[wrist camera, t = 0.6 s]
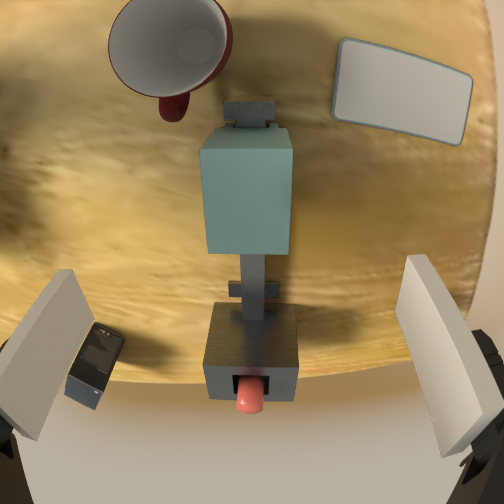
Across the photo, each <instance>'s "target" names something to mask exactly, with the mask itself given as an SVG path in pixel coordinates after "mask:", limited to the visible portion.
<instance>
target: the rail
mask: <svg viewBox="0 0 504 504" xmlns="http://www.w3.org/2000/svg"><path fill="white" fill-rule="evenodd" d="M223 104H224V121H225V120H236V127H235V128H269V127H266V120H275V115H276V101H275V98H274V96H230V97H229V98H228V99H227V100H225V101H224V102H223ZM220 128H224V127H220ZM279 128H285V127H279ZM240 265H241V281H229V282H228V288H229V297H242V316H243V320H264V298H279V286H280V284H279V282H267V281H265V254H240Z"/></svg>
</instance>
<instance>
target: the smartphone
mask: <svg viewBox="0 0 504 504" xmlns="http://www.w3.org/2000/svg"><path fill="white" fill-rule="evenodd" d="M472 85H473V80H472V78H471V76H470V75H469V74H467V73H464V72H462V71H459V70H457V69H454V68H452V67H449V66H446V65H444V64H441V63H438V62H435V61H432V60H429V59H426V58H423V57H420V56H417V55H414V54H411V53H408V52H404V51H401V50H397V49H394V48H390V47H386V46H383V45H379V44H375V43H370V42H366V41H362V40H357V39H353V38H343V39H342V40H341V41H340V42H339V45H338V54H337V63H336V72H335V81H334V89H333V97H332V104H331V115H332V117H333V118H334V119H335V120H337V121H341V122H347V123H353V124H358V125H364V126H369V127H375V128H380V129H385V130H390V131H395V132H400V133H404V134H409V135H413V136H417V137H421V138H425V139H429V140H433V141H437V142H441V143H445V144H448V145H452V146H458V145H460V144H461V142H462V138H463V134H464V129H465V124H466V119H467V114H468V109H469V104H470V98H471V92H472Z"/></svg>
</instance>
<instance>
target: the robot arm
mask: <svg viewBox="0 0 504 504" xmlns="http://www.w3.org/2000/svg"><path fill="white" fill-rule="evenodd" d="M395 313H396V316H397V318H398V321H399V324H400V326H401V329H402V332H403V334H404V337H405V340H406V343H407V345H408V348H409V351H410V354H411V357H412V359H413V362H414V365H415V368H416V371H417V374H418V377H419V380H420V384H421V387H422V390H423V393H424V396H425V399H426V403H427V406H428V410H429V413H430V416H431V420H432V423H433V427H434V430H435V434H436V438H437V442H438V446H439V450H440V454H441V458H443V457H447V456H450V455H454V454H457V453H460V452H463V451H464V450H465V449H466V447H468V446H469V445H470V444H471V446H472V450H473V452H471V453H470V454H469V455H468V456H467V457H466V458H465V459H464V460H463V461H462V462H461V464H460V465H459V466H461V467H462V466H463V465H464V464H465V463H466V465H465V467H464V470H463V472H462V474H461V476H460V478H459V480H458V482H457V484H456V486H455V488H454V490H453V492H452V494H451V496H450V498H449V500H448V501H447V503H446V504H504V364H503V360H502V358H501V356H500V355H499V354H498V350H497V348H496V347H495V345H494V343H493V341H492V339H491V338H490V337H489V336H487V335H486V334H485V333H484V332H483V331H482V330H481V329H479V330H474V331H471V330H470V328H469V327H468V325H467V323H466V321H465V319H464V317H463V316H462V314H461V312H460V310H459V308H458V307H457V305H456V303H455V301H454V300H453V298H452V296H451V295H450V293H449V291H448V290H447V288H446V286H445V285H444V283H443V281H442V280H441V278H440V276H439V275H438V273H437V272H436V270H435V268H434V267H433V265H432V264H431V262H430V261H429V259H428V257H427V256H426V254H422V255H407V260H406V265H405V270H404V275H403V279H402V284H401V288H400V292H399V296H398V300H397V304H396V308H395ZM94 319H95V318H94V316H93V314H92V312H91V310H90V308H89V306H88V303H87V301H86V299H85V297H84V295H83V293H82V291H81V288H80V286H79V284H78V282H77V279H76V277H75V275H74V272H73V270H72V269H65V270H58V272H57V273H56V274H55V275H54V277H53V278H52V279H51V281H50V282H49V283H48V285H47V286H46V287H45V289H44V290H43V291H42V293H41V294H40V295H39V297H38V298H37V299H36V301H35V302H34V303H33V305H32V306H31V308H30V309H29V310H28V312H27V313H26V315H25V316H24V318H23V319H22V321H21V322H20V323H19V325H18V326H17V328H16V329H15V331H14V332H13V334H12V335H11V337H10V338H9V339H8V340H6V341H5V342H4V343H3V344H2V346H1V347H0V504H34V503H33V500H32V497H31V494H30V491H29V487H28V485H27V481H26V477H25V474H24V470H23V466H22V462H21V458H20V454H19V450H18V445H17V441H16V438H15V435H14V434H13V433H12V430H13V428H15V429H16V430H17V431H18V432H19V433H20V434H21V435H22V436H24V437H27V438H29V439H32V440H34V441H37V439H38V437H39V434H40V432H41V429H42V427H43V425H44V422H45V420H46V417H47V415H48V413H49V410H50V408H51V406H52V404H53V401H54V399H55V397H56V395H57V393H58V390H59V388H60V386H61V384H62V382H63V380H64V377H65V375H66V373H67V371H68V369H69V367H70V365H71V363H72V361H73V359H74V357H75V355H76V353H77V351H78V349H79V347H80V345H81V343H82V341H83V339H84V337H85V335H86V334H87V332H88V330H89V328H90V326H91V324H92V322H93V320H94Z"/></svg>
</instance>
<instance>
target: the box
mask: <svg viewBox="0 0 504 504" xmlns="http://www.w3.org/2000/svg"><path fill="white" fill-rule="evenodd" d="M124 341H125V338H123V337H121V336H120V335H118V334H116V333H114V332H112V331H110V330H109V329H107V328H105V327H103V326H101V325H100V324H98V323H93V325H92V327H91V329H90V331H89V333H88V335H87V337H86V339H85V341H84V342H83V344H82V346H81V348H80V350H79V352H78V354H77V356H76V358H75V360H74V362H73V364H72V366H71V368H70V371H69V373H68V377H67V381H66V385H65V390H64V395H66V396H68V397H70V398H72V399H74V400H75V401H77V402H79V403H81V404H83V405H85V406H87V407H89V408H91V409H93V410H96V407H97V404H98V402H99V400H100V398H101V396H102V394H103V392H104V390H105V387H106V385H107V382H108V380H109V377H110V375H111V372H112V370H113V368H114V365H115V363H116V360H117V358H118V356H119V353H120V351H121V348H122V346H123V344H124Z"/></svg>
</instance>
